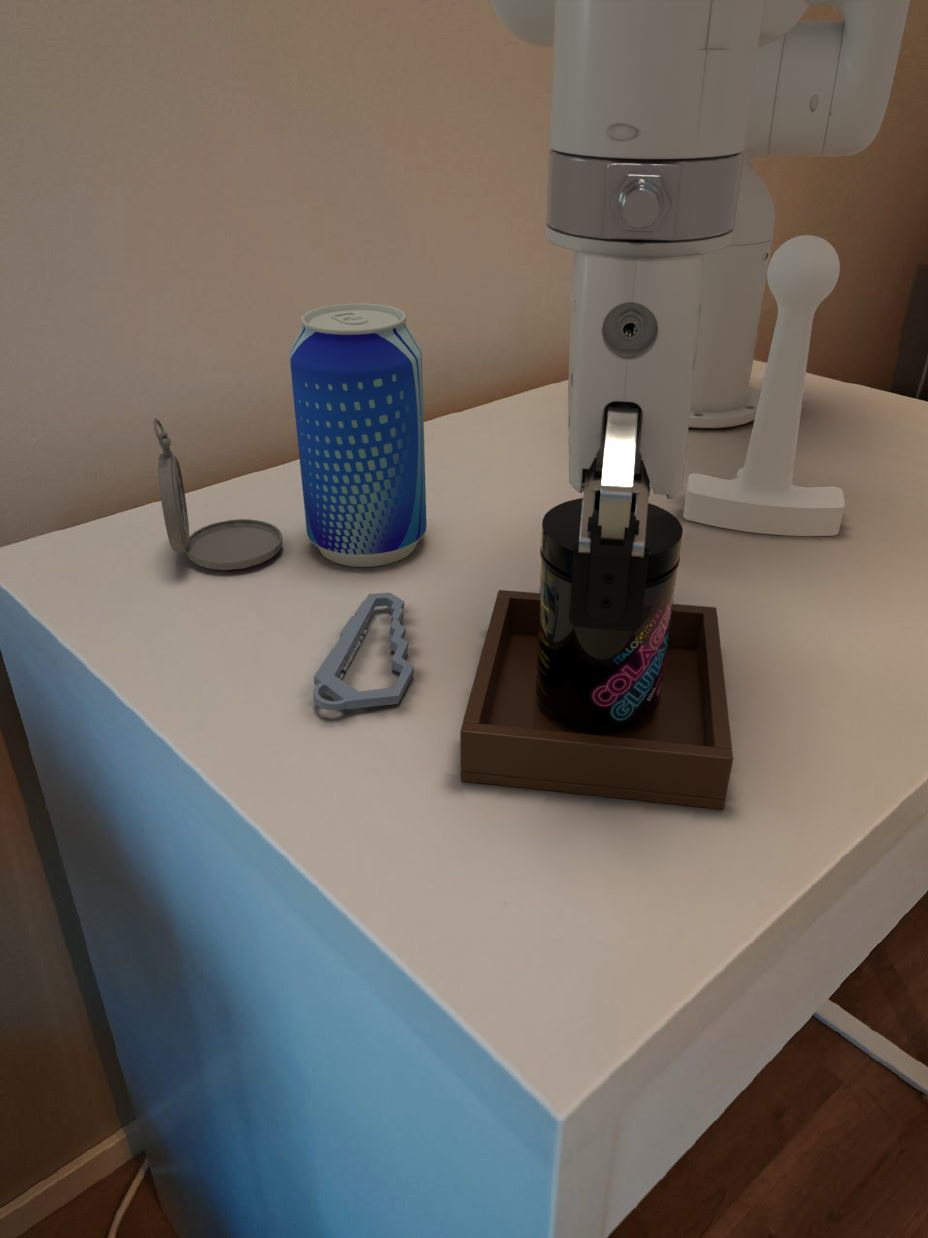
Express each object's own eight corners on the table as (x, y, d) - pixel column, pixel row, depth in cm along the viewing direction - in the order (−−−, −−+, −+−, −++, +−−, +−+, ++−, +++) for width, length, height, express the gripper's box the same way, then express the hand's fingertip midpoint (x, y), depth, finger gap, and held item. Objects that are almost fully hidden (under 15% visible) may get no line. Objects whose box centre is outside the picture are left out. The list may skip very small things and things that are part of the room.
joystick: (681, 524, 71) (718, 237, 61) (688, 484, 77) (722, 217, 67) (839, 541, 69) (906, 246, 58) (834, 498, 75) (893, 224, 64)
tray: (497, 633, 59) (498, 589, 57) (709, 651, 57) (716, 606, 55) (460, 781, 47) (459, 731, 46) (724, 810, 45) (733, 759, 44)
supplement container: (565, 752, 48) (577, 568, 43) (514, 678, 54) (519, 507, 48) (684, 724, 50) (711, 544, 45) (623, 655, 55) (640, 488, 50)
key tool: (440, 614, 61) (364, 600, 61) (441, 601, 60) (364, 587, 61) (391, 730, 51) (301, 712, 52) (392, 716, 50) (301, 698, 51)
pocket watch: (302, 551, 68) (288, 414, 63) (200, 595, 63) (175, 450, 57) (233, 516, 73) (215, 386, 67) (133, 555, 67) (105, 417, 62)
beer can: (433, 520, 72) (429, 300, 63) (418, 575, 65) (410, 335, 56) (323, 516, 73) (303, 298, 64) (295, 569, 65) (269, 332, 57)
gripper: (756, 246, 31) (691, 682, 40) (723, 173, 45) (681, 505, 54) (523, 239, 32) (511, 665, 41) (563, 170, 46) (548, 496, 55)
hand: (608, 573), depth 48 cm, fingers open, 9 cm apart
